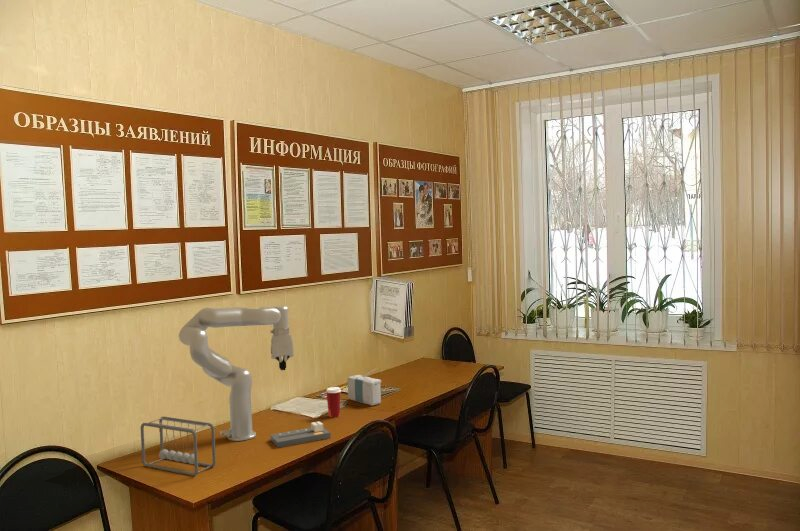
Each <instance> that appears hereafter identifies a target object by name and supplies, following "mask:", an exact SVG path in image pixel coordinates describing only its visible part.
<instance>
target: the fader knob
mask: <svg viewBox="0 0 800 531" xmlns="http://www.w3.org/2000/svg"><path fill="white" fill-rule="evenodd" d="M310 426H311V427H310V428H311V429H312V430H313V431H314V432H319V431H323V428H324V423H322V422H321V421H315V422H313V421H312V422H311V424H310Z"/></svg>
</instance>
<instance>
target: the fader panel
mask: <svg viewBox="0 0 800 531" xmlns="http://www.w3.org/2000/svg"><path fill="white" fill-rule="evenodd" d="M269 435H270V436H269V437H270V438H269V439H270V442H272V443H273V444H274V446H276V448H277V449H278V448H284V447H285V446H286V447H290V446H289V445H291V446H295V445H294V444H296V445H300V444H299V443H302V444H306V443H305V442H307V443H310V442H309V441H313V442H316V441H315V440H318V441H322V440H321V439H323V440H328V439H327V438H329V439H331V432H330V431H329V430H327V429H326V428H325V427H323V431H319V432H314V431H313V430H312V429H311V427H308V428H307V427H306V428H301V429H296V430H295V429H294V430H290V431H289V430H288V431H285V432H284V431H283V432H279V433H278V432H277V433H271V434H269Z"/></svg>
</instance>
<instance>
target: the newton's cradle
mask: <svg viewBox="0 0 800 531" xmlns="http://www.w3.org/2000/svg"><path fill="white" fill-rule="evenodd" d="M157 421H159V423H156V422H157ZM163 421H164V423H167V424H163ZM169 422H170V423H169ZM176 423H177V424H176ZM170 424H173V425H170ZM182 424H185V426H188V427H183V425H182ZM176 425H180V426H176ZM190 425H191V426H190ZM189 426H190V427H189ZM194 426H195V427H194ZM196 426H199V427H198V428H197V427H196ZM145 427H151V428H157V429H158V431H159V440H160V442H159V443H160V451H159V453H158V455H159V458H160V459H158V460H155V461H152V462H150V463H147V462H146V450H145V433H144V432H145V431H144V428H145ZM192 427H194V428H192ZM205 427H210V430H211V431H210V432H211V449H212V463H211V464H210V463H207V462H206V463H205V462H200V461H199V460H198V459H199V458H198V440H197V438H198V437H197V433H196V431H198V430H201V429H202V428H205ZM164 429H165V432H166V433H165V434H166V435H165V436H166V438H169V436H168V430H170V431H172V432H173V434H172V438H173V440H176V438H175V432H176V431H177V432H179V434H180V436H179V438H180V441H183V437H182V432H184V433H186V434H187V435H186V439H187V442H188V443H185V444H186V445H185V448H184V444H183V442H179V445H178V446H177V443H176V441H174V442H172V444H171V445H170V444H168V446H169V450H168V449H166V447H164V444H166V441H167V440H168V443H170V440H169V439H165V442H164V432H163V430H164ZM189 434H191V435H192V436H193V447H192V450H191V447H189V449H190V451H192V452H190V454H189V452H186V451H185V449H188V448H187V447H188V446H191V443H190V440H189ZM215 434H216V432H215V426H214V425H213V423H212V422H205V421H198V420H197V421H196V420H190V419H183V418H176V417H170V416H169V417H168V416H161V417H159V418H158V419H155V420H152V421H149V422H142V423H141V425H140V442H141V443H140V444H141V460H142V464H143V465H145V466H144V467H146V466H149V467H148V468H151V467H153V468H152V469H156V468H157V470H162V471H166V472H170V473H171V472H173V473H177V474H182V475H187V476H191V477H195V476H197V475H198V474H199V473H201V472H202V471H205V470H207V469H209V468H214V467H215V466H216V464H217V460H216V458H217V456H216V438H215V436H216V435H215ZM174 443H175V448H176V449H178V448H180V447H181V443H182V448H183V449H182V450H183V452H181V451H180V450H176V451H175V450H173V449H172V448H173V447H174V446H173V444H174ZM168 459H169V460H168ZM162 460H168V461H173V460H174V461H175V462H179V463H184V464H185V463H186V464H190V465H194V472H191V471H187V470H180V469H174V468H172V467H171V468H170V467H166V466H160V465H155V464H154V463H156V462H159V461H162ZM199 466H200V467H205V468H203V469H201V470H199Z"/></svg>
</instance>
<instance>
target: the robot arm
mask: <svg viewBox="0 0 800 531" xmlns="http://www.w3.org/2000/svg"><path fill="white" fill-rule="evenodd" d="M289 315H290V314H289V308H288V306H286V305H277V306H272V307H271V306H263V307H262V306H261V307H259V308H248V307H239V306H238V307H224V308H223V307H220V308H216V307H214V308H212V307H203V308H202V309H200V310H199V311H198V312H196V313H195V315H194V316H193V317H191V319H189V320H188V321H187V323H185V324H184V326H182V327H181V328H180V330H179V333H178V338H179V341H180V342H181V343H182V344H183V345H185V346H188V347H189V354H190V357H191V360H192V361H193V362H194V364H196V365H197V366H199V367H201V368H202V371H203V372H204V374H206V375H207V376H209V377H211V378H212V379H214V380H216V381H217V382H219V383H220V384H222V385H224V386H226V387H229V388H230V393H229V398H228V400H229V401H228V402H229V418H230V419H229V420H230V427H228V429H226V430H219V434H220V436H224V437H227V440H229V441H233V442H243V441H249V440H251V439H253V438H255V437H256V436H257V432H256V431H255V430H253V414H252V413H253V412H252V411H253V410H252V385H253V376H252V374H251V372H250V371H249V370H247V369H246V368H243V367H240V366H235V365H234V364H232V363H231V361H230V360H229V359H228V358H226V357H225V356H222V355H221V354H219V353H218V352H216V351H214V350H213V349H212V348H210V347H209V340H208V339H209V336H208V334H207V332H206V330H207V329H208V328H217V329H218V328H229V327H232V328H233V327H249V326H250V327H251V326H268V325H269V326H270V325H271V326H272V329H271V330H270V331H269V332H270V334H272V335H271V341H270V355H271V356H270V358H271V359H272V360H276V361H277V362H278V368H279V369H280V371H286V369H287V361H288V360H289V358H292V357H294V352H295V351H294V342H293V336H292V334H291V333H290V321H289V320H290V316H289Z"/></svg>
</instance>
